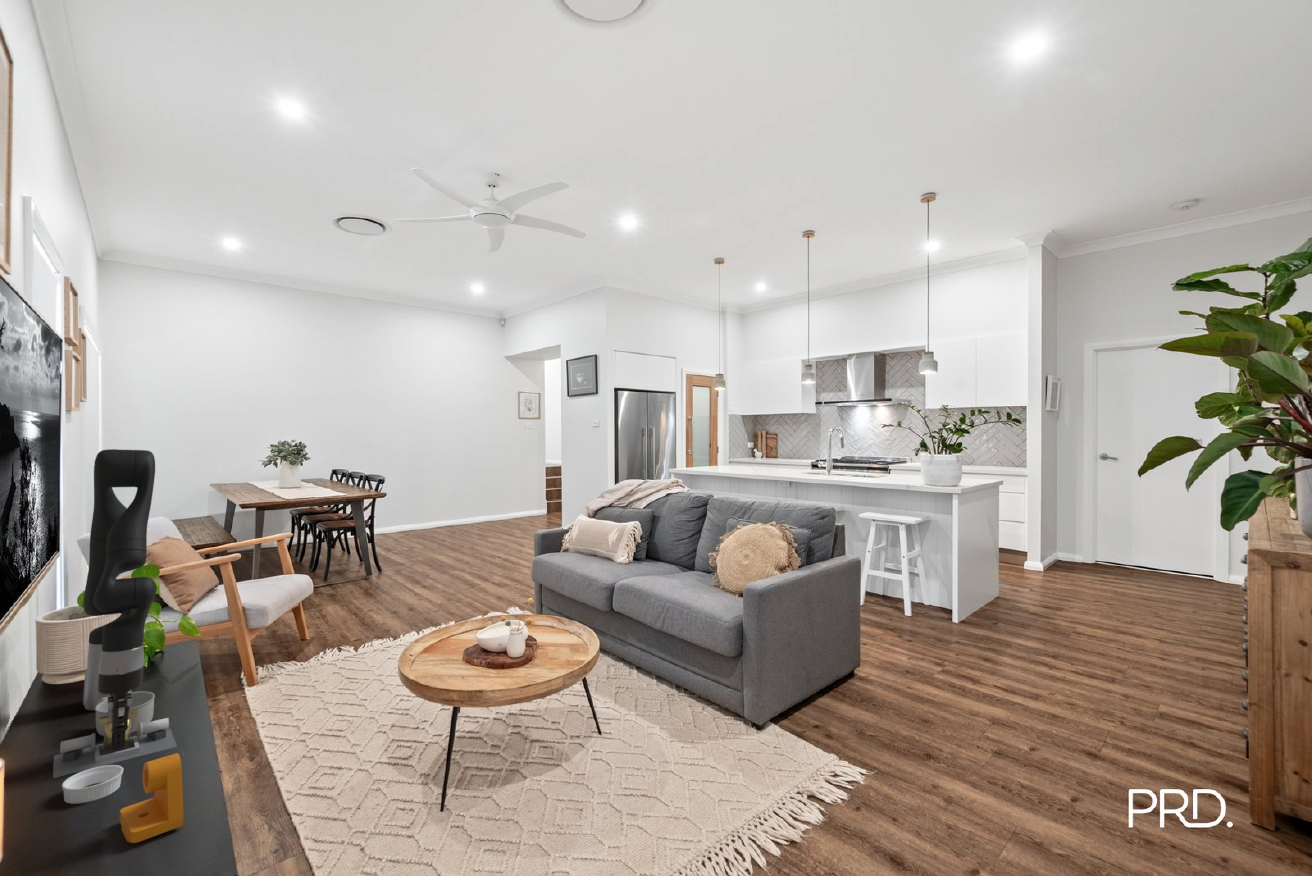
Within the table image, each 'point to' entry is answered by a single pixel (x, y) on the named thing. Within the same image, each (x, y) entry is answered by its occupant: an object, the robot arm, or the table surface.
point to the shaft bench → (98, 756)
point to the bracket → (156, 801)
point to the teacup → (139, 702)
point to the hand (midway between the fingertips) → (117, 743)
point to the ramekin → (104, 774)
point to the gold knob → (109, 725)
